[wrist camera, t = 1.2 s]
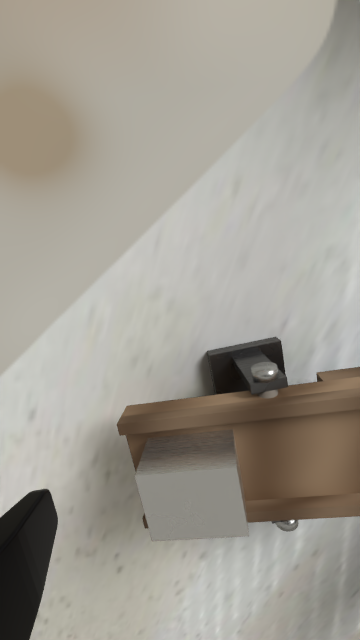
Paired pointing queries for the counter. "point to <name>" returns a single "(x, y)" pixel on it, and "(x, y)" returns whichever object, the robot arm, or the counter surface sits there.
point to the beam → (274, 443)
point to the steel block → (192, 487)
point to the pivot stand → (250, 376)
